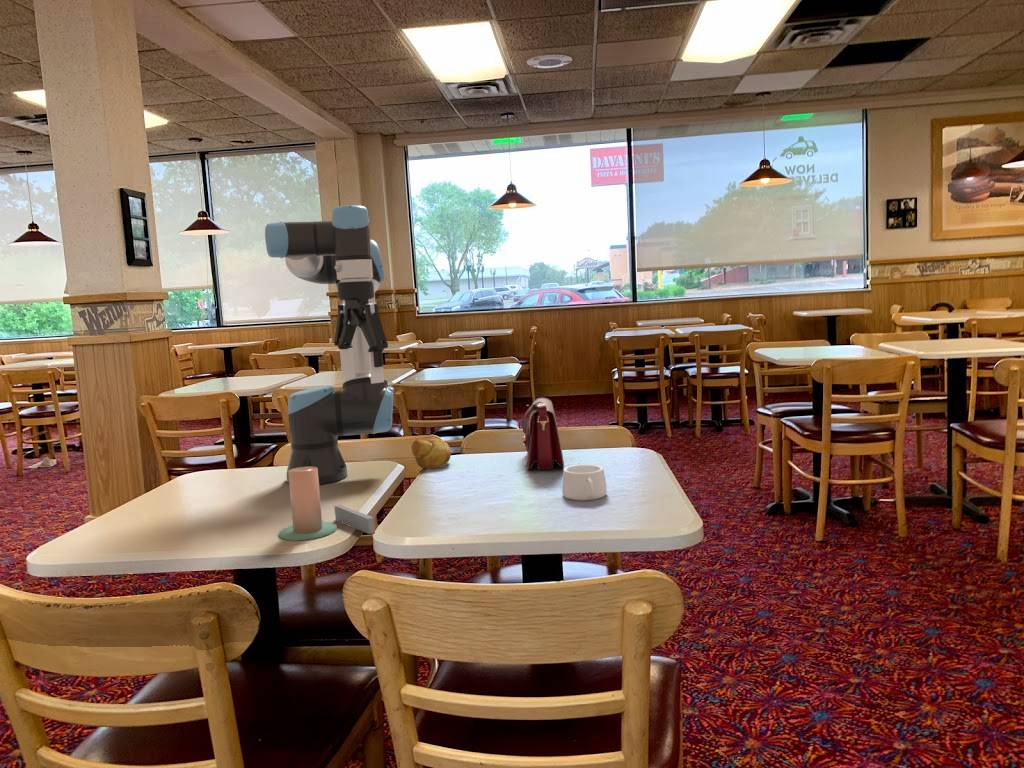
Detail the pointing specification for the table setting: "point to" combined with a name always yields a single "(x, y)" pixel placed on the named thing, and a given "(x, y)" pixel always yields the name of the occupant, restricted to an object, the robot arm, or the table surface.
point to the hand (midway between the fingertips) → (362, 380)
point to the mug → (584, 482)
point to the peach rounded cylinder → (305, 500)
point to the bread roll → (431, 452)
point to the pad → (290, 535)
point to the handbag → (542, 435)
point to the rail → (355, 519)
